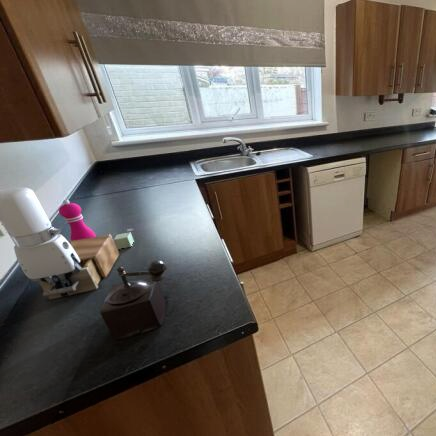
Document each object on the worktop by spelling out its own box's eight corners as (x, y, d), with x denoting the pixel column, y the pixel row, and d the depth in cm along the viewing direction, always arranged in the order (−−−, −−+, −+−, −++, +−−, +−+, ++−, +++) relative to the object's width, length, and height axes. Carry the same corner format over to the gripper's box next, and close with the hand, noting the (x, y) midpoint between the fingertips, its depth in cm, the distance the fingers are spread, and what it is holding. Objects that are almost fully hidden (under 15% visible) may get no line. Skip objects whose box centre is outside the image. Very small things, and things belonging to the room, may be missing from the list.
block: (117, 249, 103) (113, 239, 101) (121, 244, 107) (117, 234, 105) (131, 247, 104) (127, 237, 102) (134, 241, 108) (130, 232, 106)
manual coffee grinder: (111, 343, 64) (79, 283, 56) (123, 312, 73) (96, 256, 65) (183, 322, 69) (163, 265, 61) (186, 295, 78) (168, 242, 70)
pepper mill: (99, 240, 110) (78, 194, 101) (100, 247, 105) (78, 200, 96) (76, 247, 106) (52, 199, 97) (76, 254, 101) (50, 205, 92)
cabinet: (107, 280, 86) (95, 255, 82) (58, 291, 82) (43, 265, 78) (120, 257, 98) (110, 234, 94) (78, 265, 94) (66, 241, 90)
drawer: (91, 300, 76) (79, 278, 73) (40, 312, 73) (25, 289, 69) (112, 265, 92) (103, 246, 88) (71, 273, 88) (60, 253, 85)
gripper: (77, 224, 74) (104, 278, 82) (6, 235, 69) (41, 291, 77) (64, 236, 67) (95, 293, 75) (-15, 250, 62) (26, 309, 70)
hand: (68, 292), depth 76 cm, fingers closed
